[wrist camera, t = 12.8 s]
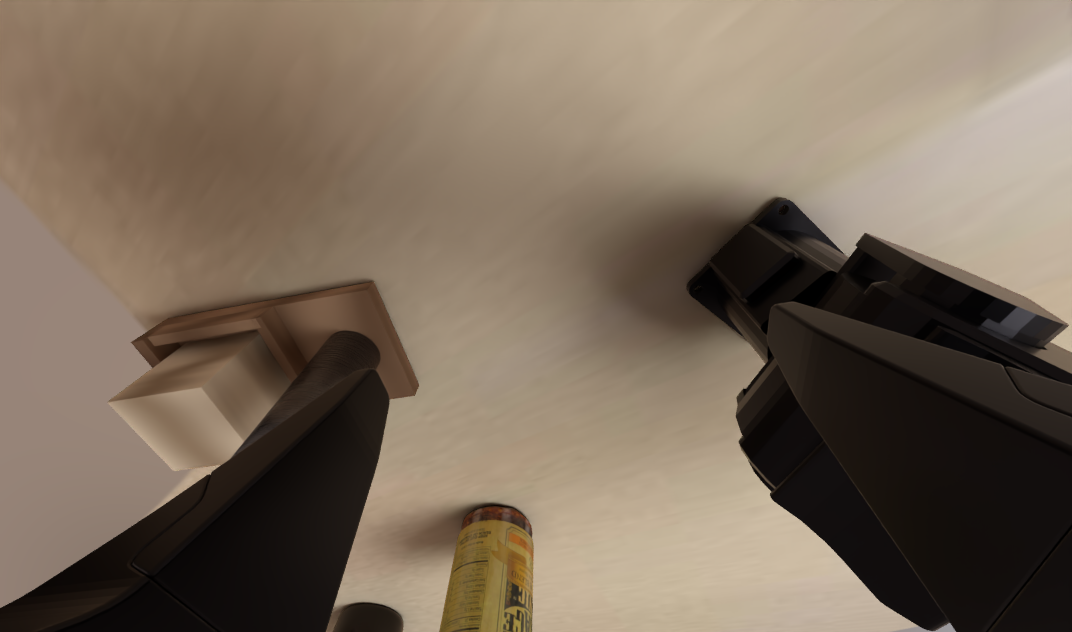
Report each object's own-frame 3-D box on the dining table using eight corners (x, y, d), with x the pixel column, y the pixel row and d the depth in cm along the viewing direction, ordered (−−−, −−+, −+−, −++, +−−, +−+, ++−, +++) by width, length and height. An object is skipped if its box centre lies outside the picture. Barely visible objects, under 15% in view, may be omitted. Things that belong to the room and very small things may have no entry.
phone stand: (373, 281, 23) (233, 453, 12) (419, 385, 26) (341, 583, 16) (167, 318, 24) (-117, 502, 13) (239, 411, 28) (59, 611, 17)
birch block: (264, 329, 23) (200, 387, 19) (305, 395, 25) (258, 459, 21) (186, 343, 23) (106, 402, 19) (234, 406, 26) (173, 471, 22)
